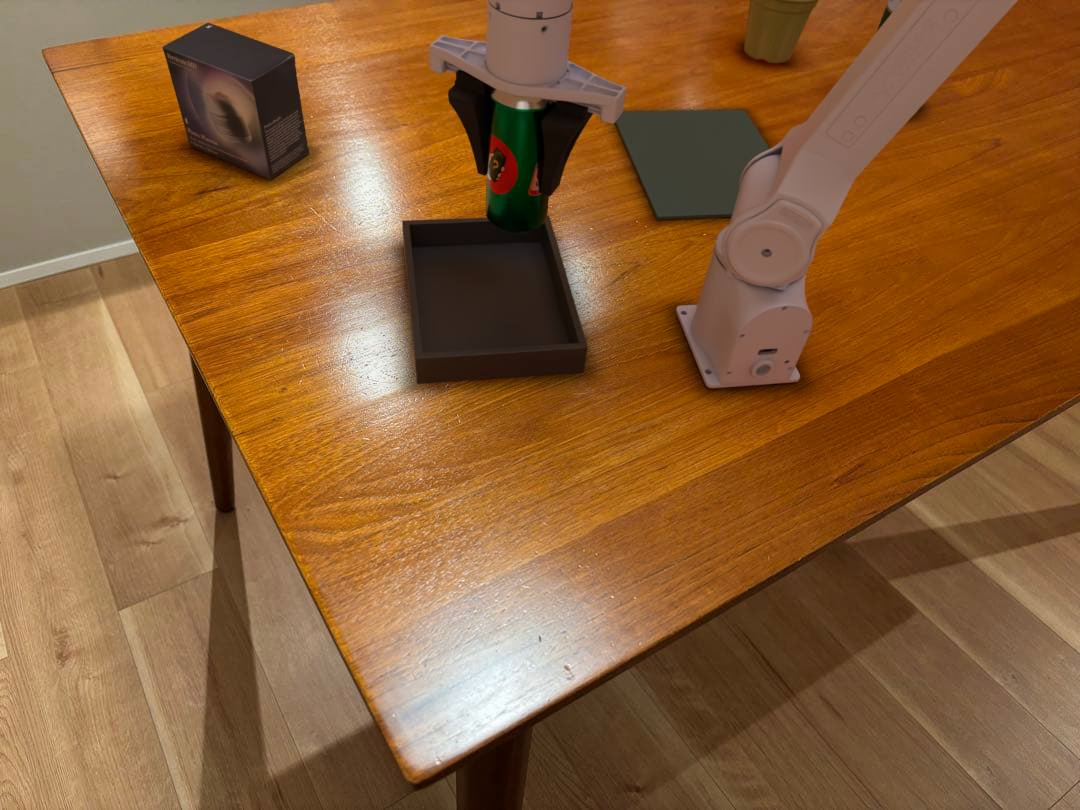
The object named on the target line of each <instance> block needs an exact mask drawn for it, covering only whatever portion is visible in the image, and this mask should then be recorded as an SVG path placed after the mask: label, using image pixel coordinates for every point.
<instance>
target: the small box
mask: <svg viewBox="0 0 1080 810" xmlns="http://www.w3.org/2000/svg"><path fill="white" fill-rule="evenodd" d="M161 48H162V51H163V54H164V57H165V61H166V65H167V69H168V73H169V75H170V79H171V82H172V87H173V90H174V93H175V96H176V100H177V104H178V107H179V111H180V115H181V119H182V123H183V126H184V130H185V134H186V137H187V141H188V146H189V147H191V148H192V149H195V150H198V151H200V152H203V153H206V154H208V155H211V156H213V157H215V158H217V159H219V160H222V161H224V162H227V163H229V164H231V165H233V166H236V167H239V168H241V169H244V170H246V171H247V172H250V173H252V174H255V175H258V176H259V177H262V178H264V179H267V180H268V181H271V180H273V179H275V178H276V177H277V176H279V175H280V174H282V173H283V172H284V171H287V169H289V168H290V167H292V166H293V165H295V164H296V163H298V162H299V161H301V159H304V158H305V157H306V156H307V155H309V154H310V148H309V144H308V143H309V142H308V138H307V132H306V125H305V119H304V113H303V106H302V101H301V94H300V93H301V92H300V88H299V82H298V75H297V72H298V71H297V66H296V56H295V53H294V52H292V51H289V50H286V49H283V48H280V47H277V46H275V45H271V44H268V43H266V42H264V41H261V40H258V39H255V38H252V37H249V36H247V35H244V34H241V33H238V32H236V31H233V30H229V29H228V28H225V27H222V26H220V25H216V24H214V23H211V22H206V23H204V24H202V25H200V26H199V27H197V28H194V29H193V30H191V31H189V32H187V33H185V34H183V35H181V36H179V37H177V38H176V39H173V40H172V41H170V42H168V43H166V44H164V45H162V46H161Z"/></svg>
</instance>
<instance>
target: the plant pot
mask: <svg viewBox="0 0 1080 810" xmlns="http://www.w3.org/2000/svg"><path fill="white" fill-rule="evenodd" d="M818 2H819V0H749V5H748V12H747V13H748V14H747V20H746V21H747V22H746V29H745V36H744V43H743V44H744V45H743V51H744V53H745V54H746V55H747V56H749V57H750V58H752V59H753V60H757V61H758V60H764V61H765V62H767V63H769V64H782V63H786V62H788V61H789V60H790V58H791V57H792V56H793V54H794V52H795V50H796V47H797V45H798V43H799V40H800V38H801V37H802V33H803V31H804V29H805V27H806V25H807V22H808V20H809V19H810V16H811V14H812V11H813V10H814V9H815V8H816V6H817V4H818Z"/></svg>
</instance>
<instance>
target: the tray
mask: <svg viewBox="0 0 1080 810" xmlns="http://www.w3.org/2000/svg"><path fill="white" fill-rule="evenodd" d="M401 223H402V225H401V226H402V242H403V254H404V255H403V256H404V266H405V275H406V286H407V287H406V288H407V296H408V306H409V315H410V326H411V327H410V328H411V335H412V337H411V338H412V348H413V359H414V368H415V379H416V384H417V385H424V384H437V383H439V384H440V383H453V382H454V383H455V382H466V381H467V382H468V381H482V380H494V379H495V380H497V379H508V378H510V379H511V378H523V377H538V376H539V377H540V376H551V375H552V376H553V375H554V376H555V375H567V374H581V373H584V372H585V365H586V360H587V354H588V348H589V347H588V343H587V341H586V337H585V334H584V330H583V325H582V323H581V320H580V316H579V313H578V309H577V306H576V302H575V299H574V296H573V292H572V288H571V286H570V283H569V278H568V276H567V272H566V269H565V265H564V262H563V259H562V255H561V251H560V248H559V245H558V241H557V239H556V234H555V231H554V228H553V224H552V221H551V218H550V215H548V214H547V219H546V221H545V222H544V223H543V224H542V225H541V226H540V227H539V228H537V229H536V230H534V231H532V232H529V233H525V234H511V233H506V232H504V231H501V230H499V229H498V228H496V227H495V226H494V225H493V224H492V223H491V222H490V221H489V220H488V218H487V217H466V218H465V217H463V218H437V219H410V220H408V219H407V220H402V221H401Z"/></svg>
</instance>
